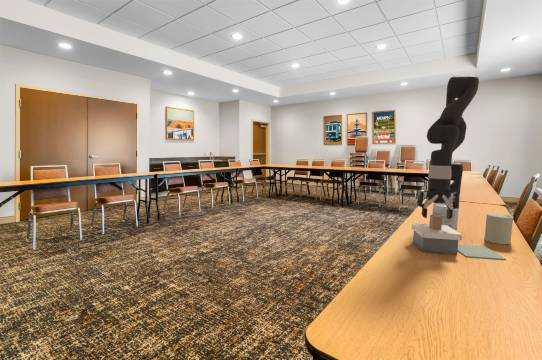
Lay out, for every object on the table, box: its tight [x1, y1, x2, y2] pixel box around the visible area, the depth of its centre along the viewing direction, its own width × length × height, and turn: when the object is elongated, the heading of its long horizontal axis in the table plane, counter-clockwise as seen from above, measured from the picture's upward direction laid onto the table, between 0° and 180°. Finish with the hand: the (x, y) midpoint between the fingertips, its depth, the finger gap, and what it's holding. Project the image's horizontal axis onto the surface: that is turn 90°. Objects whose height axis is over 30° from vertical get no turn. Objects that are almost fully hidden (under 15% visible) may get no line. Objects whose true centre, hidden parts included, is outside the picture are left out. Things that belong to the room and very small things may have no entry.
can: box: [483, 212, 514, 245], centre depth 122 cm, size 9×9×12 cm
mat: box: [457, 243, 507, 261], centre depth 109 cm, size 14×13×1 cm
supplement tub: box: [431, 203, 457, 231], centre depth 128 cm, size 10×10×15 cm
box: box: [412, 230, 459, 255], centre depth 113 cm, size 12×12×7 cm
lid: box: [411, 214, 463, 241], centre depth 112 cm, size 13×13×7 cm
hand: (436, 218), depth 111 cm, fingers open, 8 cm apart
